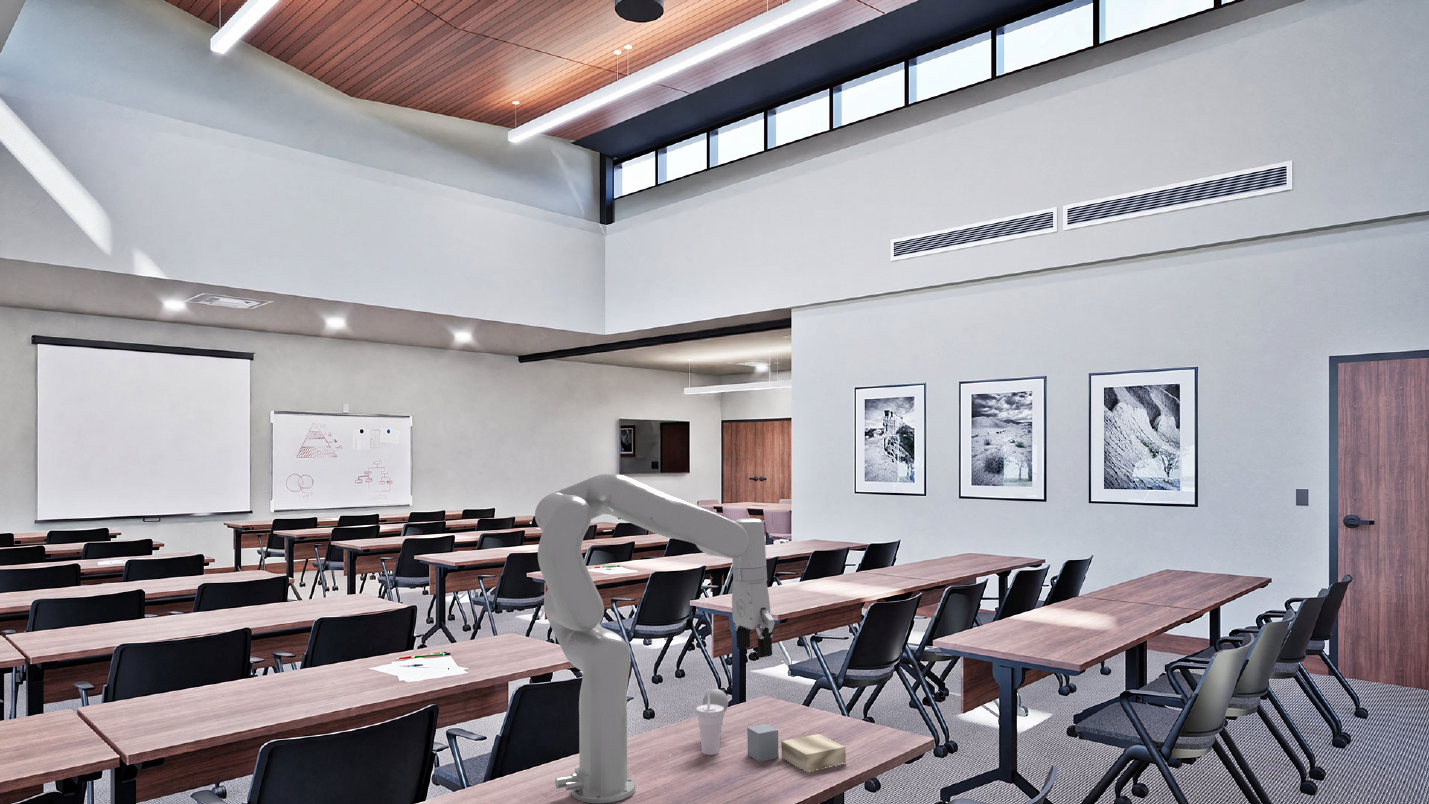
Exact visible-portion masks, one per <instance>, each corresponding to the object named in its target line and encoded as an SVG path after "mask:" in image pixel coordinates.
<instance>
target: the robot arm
mask: <svg viewBox="0 0 1429 804" xmlns="http://www.w3.org/2000/svg"><path fill="white" fill-rule="evenodd" d="M602 515H611V516H613V517H615V518H617V519H620V520H623V521H625V522H628V523H630V524H632V525H635V526H638V527H640V528H641V529H645V530H646V531H649V532H651V533H654V534H656V535H659V536H662V537H666V538H668V539H673V540H674V539H675V540H679V541H684V542H688V543H692V544H694V545H695V546H696V547H697V548H698V549H699V550H700V551H701V552H703V553H704V554H707V555H710V556H715V557H722V558H726V559H731V560H732V573H733V575H732V577H733V578H732V579H733V583H732V588H731V589H732V590H731V591H732V593H731V612H732V613H731V617H732V621H733V623H734V629H735V636H736V637H735V638H736V648H737V649H740V650H741V649H746V648H750V646H751V635H750V634H751V633H750V630H756V633H757V635H758V637H759V638H757V652H758V654H757V655H758V657H759V658H766V657H771V656H773V641H772V638H773V635H774V634H773V633H774V631H775V629H774V627H775V619H774V618H773V616H772V615H771V603H770V602H771V601H770V596H769V590H768V589H769V588H768V583H767V581H768V573H767V572H768V571H767V555H766V538H765V537H766V535H765V524H764V521H763V520H761V519H760V518H754V517H751V518H750V517H749V518H738V519H735V520H732V519H730V518H727V517H725V516H722V515H720V514H718V513H716V512H713V511H711V510H708V509H705V508H702V507H700V506H697V505H694V504H692V503H689V502H688V501H685V500H682V499H680V498H677V497H675V496H672V495H670V494H667V493H665V492H663V491H661V490H658V489H656V488H653V487H651V486H649V485H647V484H645V483H642V482H640V481H638V480H636V479H634V478H631V477H629V476H626V475H623V474H617V473H615V474H613V473H612V474H611V473H608V474H607V473H605V474H598V475H595V476H593V477H589V478H587V479H585V480H583V481H580V482H578V483H574V484H573V485H569V486H567V487H565V488H561V489H560V490H557V491H554V492H551V493H549V494H547V495H546V496H544V497H543V498H541V500H540V501H539V502H538V504H537V506H536V508H535V512H534V519H535V522H536V524H537V526H538V528H539V529H540V530H541V531H542V533H541V535H540V539H539V542H538V548H537V562H538V566H539V570H540V572H541V575H542V577H543V580H544V582H545V584H546V587H547V590H546V592H545V595H544V598H543V599H544V600H543V608H544V613H545V615H546V619H547V621H548V623H549V625H550V627H551V629H552V633H554V635H555V638H556V639H557V642H558V644H559V647H560V648H561V650H562V652H563V654H564V655H565V657H566V659H567V661H568V662H569V663H570V664H571V665H572V666H573V667H574V668H576V669H578V670H579V671H581V672H582V680H581V684H580V690H579V698H578V699H579V701H578V712H579V713H578V714H579V715H578V716H579V717H578V718H579V719H578V720H579V721H578V723H579V725H578V726H579V728H578V729H579V732H578V733H579V736H578V737H579V743H578V744H579V747H578V748H579V749H578V750H579V755H578V756H579V767H575V768H574V773H571V774H570V775H569V776H561V777H556V778H555V783H554V784H555V788H556V789H562V788H565V790H566V791H571V796H572V797H573V798H574V799H576V800H577V801H580V802H582V803H588V804H611V803H615V802H619V801H622V800H625V799H628V798H629V797H631V796H632V795H633V794H634V792H635V791H636V782H635V781H634V780H633V779H632V778H630V777H628V683H629V675H630V670H631V651H630V647H629V646H628V643H627V642H626V641H625V639H624V638H623V637H622V636H621V635H619V634H618V633H616V632H614V631H612V630H610V629H607V628H606V627H603V626H602V625H601V623H602V620H603V618H604V614H605V606H604V602H603V601H604V600H603V599H602V596H601V595H600V593H599V590H598V589H597V586H596V584H595V582H594V580H593V578H592V576H591V574H590V572H589V570H588V567H587V565H586V562H585V560H584V557H583V554H582V553H583V552H582V546H583V540H584V537H585V535H586V533H587V532H588V529H589V527H590V525H591V523H592V520H593V519H595V518H597V517H600V516H602ZM762 629H763V630H762Z"/></svg>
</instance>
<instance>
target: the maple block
mask: <svg viewBox="0 0 1429 804" xmlns="http://www.w3.org/2000/svg"><path fill="white" fill-rule="evenodd" d="M780 742H781V744H780V745H781V759H783V760H784V759H785V760H784V761H786V760H787V762H788V763H789V764H791V763H792V765H793V766H795V767H796V766H797V768H798V767H799V768H798V769H800V770H801V769H803V770H804V771H803V770H802V771H803V772H805V771H806V772H805V773H810V772H809V771H812V772H814V771H813V770H816V769H821V770H823V769H822V768H825V767H829V766H835V765H838V764H841V763H846V762H847V761H846V760H847V759H846V758H847V757H846V746H845V745H843V744H840V743H839V742H836V741H835V740H832V739H831V738H829V737H826V736H824V735H823V734H821V733H816V734H811V735H806V736H802V737H801V736H800V737H796V738H790V739H785V740H782V741H780ZM846 764H847V763H846ZM835 767H836V766H835Z"/></svg>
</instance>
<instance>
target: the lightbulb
mask: <svg viewBox="0 0 1429 804" xmlns="http://www.w3.org/2000/svg"><path fill="white" fill-rule="evenodd" d="M707 704H708V694H707V692H706V693H705V694H704V696H703V698H702V705H707ZM710 704H715V705H720V706H722V707H724V714H723V716H722V722H724V721H723V720H724V716H725V714H726V711H727V708H728V707H729V697H728V695H727V694H726V692H724V691H723V690H721V689H719V688H710Z"/></svg>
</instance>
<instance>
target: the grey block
mask: <svg viewBox="0 0 1429 804" xmlns="http://www.w3.org/2000/svg"><path fill="white" fill-rule="evenodd" d="M746 730H747V731H746V732H747V736H746V737H747V739H746V740H747V756H749V757H751V758H753V759H754V760H756V761H757V762H758V763H759V762H763V761H768V760H773V759H778V758H777V757H779V754H780V753H779V729H777V728H776V727H775V728H774V727H773V726H772V725H769V724H767V723H763V724H758V725H753V726H752V725H751V726H747V729H746Z"/></svg>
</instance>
